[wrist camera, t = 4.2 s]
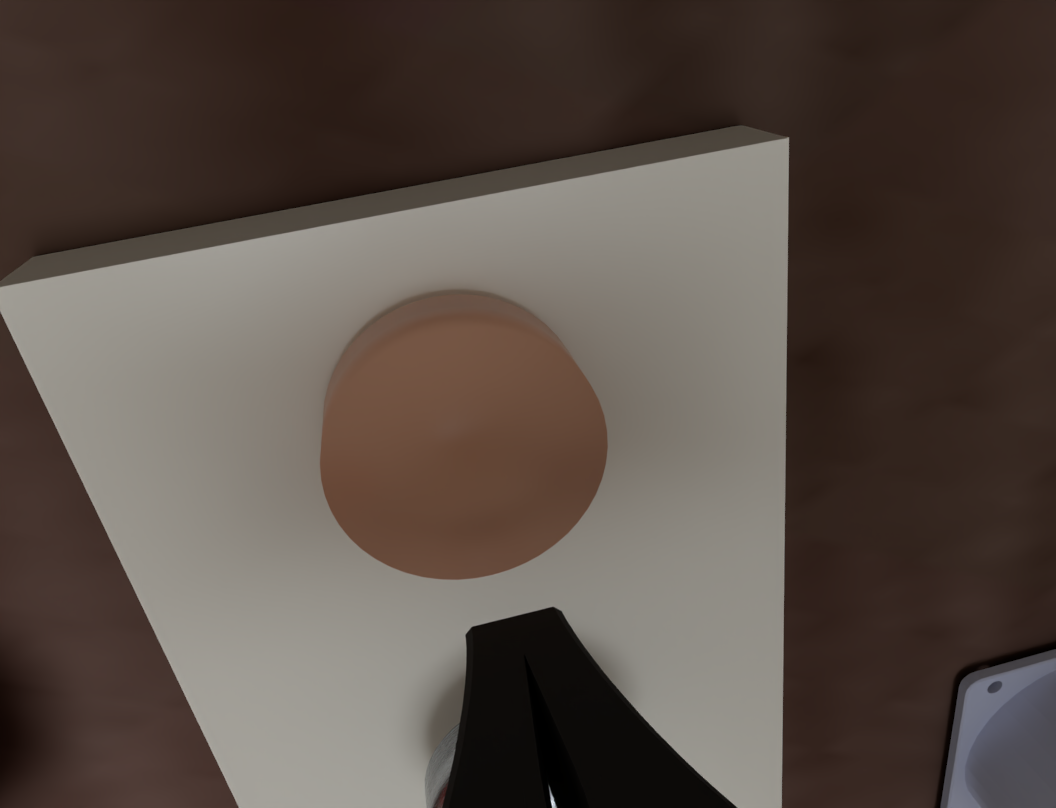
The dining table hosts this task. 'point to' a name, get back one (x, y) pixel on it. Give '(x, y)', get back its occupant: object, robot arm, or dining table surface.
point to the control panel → (295, 446)
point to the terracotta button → (460, 438)
